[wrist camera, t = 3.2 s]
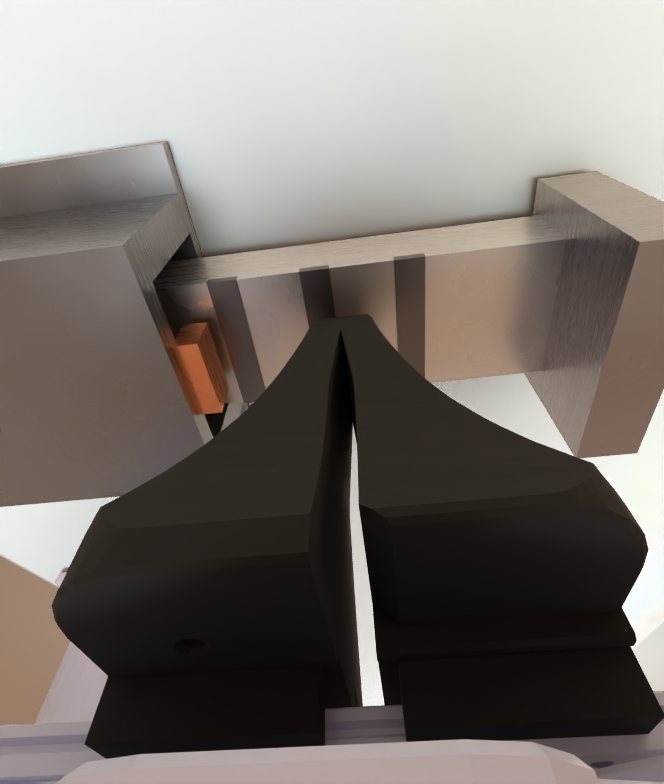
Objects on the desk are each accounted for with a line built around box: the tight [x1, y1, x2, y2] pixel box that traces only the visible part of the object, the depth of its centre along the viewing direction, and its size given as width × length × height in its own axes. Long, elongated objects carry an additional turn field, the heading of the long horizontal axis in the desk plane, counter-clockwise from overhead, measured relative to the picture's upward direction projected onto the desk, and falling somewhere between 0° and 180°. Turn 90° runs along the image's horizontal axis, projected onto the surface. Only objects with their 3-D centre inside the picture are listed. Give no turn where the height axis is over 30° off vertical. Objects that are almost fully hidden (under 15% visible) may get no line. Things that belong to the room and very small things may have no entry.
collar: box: [0, 141, 249, 507], centre depth 12 cm, size 9×9×4 cm
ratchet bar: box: [152, 171, 664, 458], centre depth 11 cm, size 5×19×5 cm, turn 97°
